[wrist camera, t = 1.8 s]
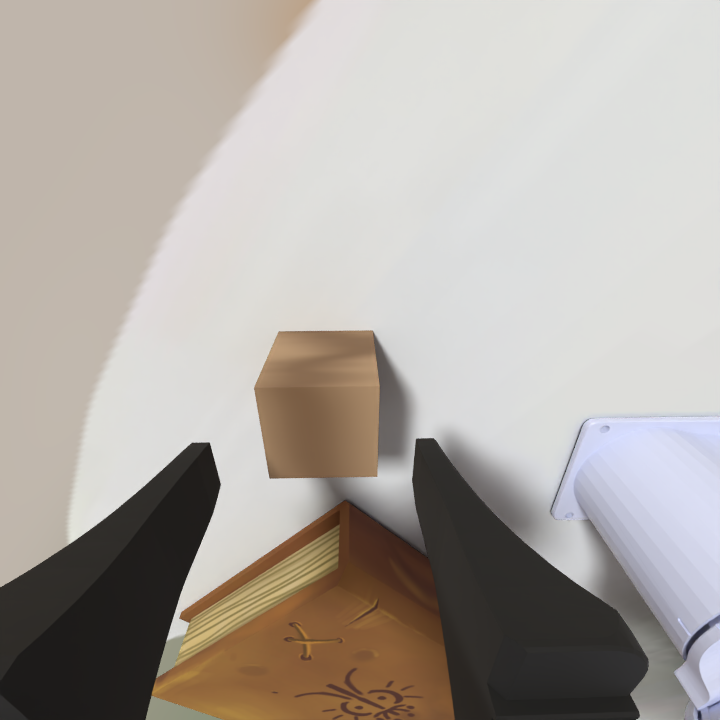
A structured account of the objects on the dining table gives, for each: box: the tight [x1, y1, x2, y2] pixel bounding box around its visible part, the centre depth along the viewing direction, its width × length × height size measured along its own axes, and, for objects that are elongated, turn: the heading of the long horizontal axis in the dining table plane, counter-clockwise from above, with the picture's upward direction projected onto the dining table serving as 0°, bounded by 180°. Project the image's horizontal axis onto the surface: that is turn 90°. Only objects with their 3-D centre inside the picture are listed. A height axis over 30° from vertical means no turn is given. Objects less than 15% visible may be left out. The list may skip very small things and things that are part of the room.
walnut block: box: [254, 331, 380, 478], centre depth 16 cm, size 4×4×5 cm
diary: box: [151, 501, 455, 720], centre depth 28 cm, size 23×19×6 cm
